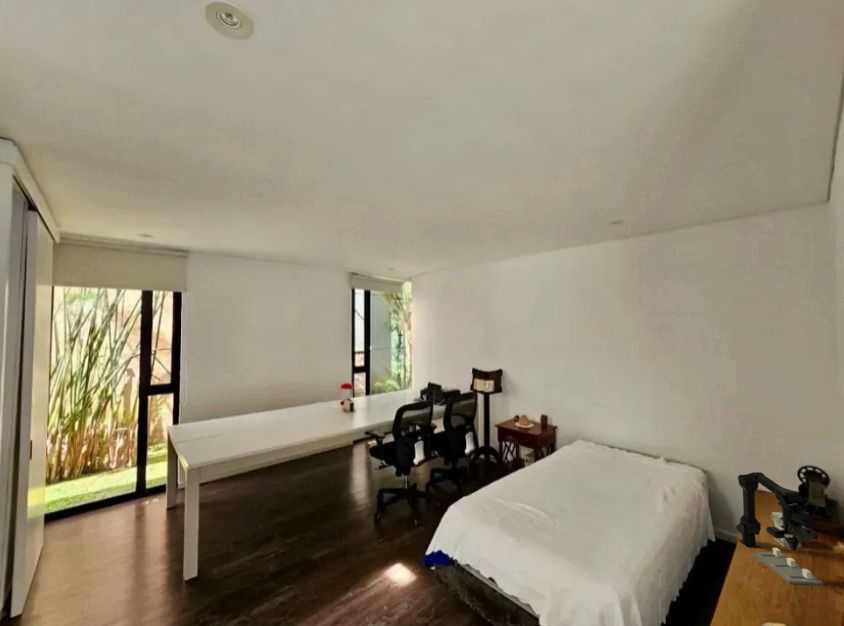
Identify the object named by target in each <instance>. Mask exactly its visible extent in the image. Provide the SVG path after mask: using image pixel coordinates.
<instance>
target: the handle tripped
mask: <svg viewBox="0 0 844 626" xmlns="http://www.w3.org/2000/svg"><path fill="white" fill-rule="evenodd" d="M802 572H803V576H804V577H805V578H807V579H812V575H813V574H812V572H811V571H810V570H809V569H808V568H803V569H802Z"/></svg>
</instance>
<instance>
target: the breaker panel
mask: <svg viewBox="0 0 844 626" xmlns="http://www.w3.org/2000/svg"><path fill="white" fill-rule="evenodd" d="M751 554H752V555H753V556H754V557H755V558H756V559H757V560H759V561H760V562H761V563H762V564H764V565H765V566H766V567H768V568H769V569H770V570H771V571H773V572H774V573H776V575H778V576H779V577H780V578H782V579H783V580H784V581H786V583H788V584H789V585H791V584H792V585H793V584H794V585H811V586H812V585H813V586H814V585H815V586H824V584H823V581H821V580H820V579H819V578H817V577H816V576H815V575H813V574H812V579H807V578H805V577H804V576H803V572H802V569H804V568H803V567H802V566H800V565H799V564H797V562H795V565H796V567H790V566H789V565H788V564H787V558H789V557H788V556H786V555H785V554H783V553H782V552H781V557H777V556H775V555H774V554H773V551H772V552H769V551H768V552H767V551H761V552H760V551H751Z"/></svg>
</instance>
